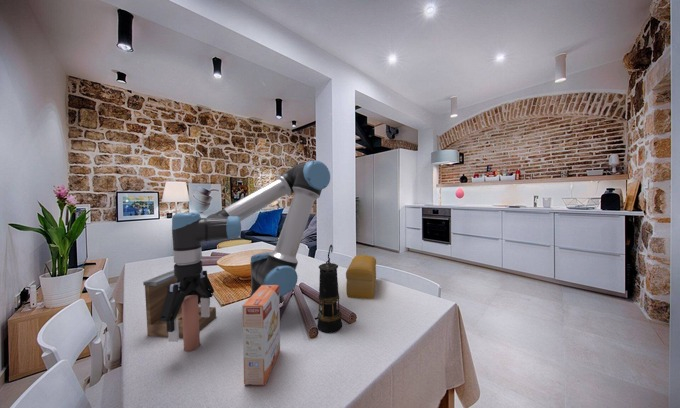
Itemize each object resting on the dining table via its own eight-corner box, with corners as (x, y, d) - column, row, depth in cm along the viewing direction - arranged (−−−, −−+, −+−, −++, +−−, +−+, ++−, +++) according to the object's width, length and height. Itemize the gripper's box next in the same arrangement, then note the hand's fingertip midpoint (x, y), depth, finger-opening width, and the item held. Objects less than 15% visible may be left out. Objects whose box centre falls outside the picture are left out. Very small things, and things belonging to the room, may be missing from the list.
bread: (373, 299, 109) (373, 267, 108) (345, 297, 111) (345, 265, 110) (376, 280, 132) (376, 253, 132) (353, 279, 135) (353, 252, 134)
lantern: (312, 330, 85) (311, 246, 84) (324, 317, 93) (322, 241, 92) (336, 335, 82) (335, 248, 80) (345, 322, 90) (344, 242, 89)
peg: (203, 343, 79) (201, 295, 78) (193, 351, 74) (191, 301, 74) (190, 342, 79) (188, 294, 78) (180, 350, 75) (177, 300, 74)
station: (216, 316, 96) (214, 269, 95) (188, 339, 81) (186, 283, 80) (180, 314, 97) (178, 268, 97) (146, 336, 83) (143, 281, 82)
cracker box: (266, 386, 60) (264, 305, 59) (243, 386, 61) (240, 305, 60) (281, 350, 74) (280, 283, 73) (262, 350, 75) (260, 284, 74)
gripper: (204, 251, 88) (206, 308, 89) (140, 275, 64) (144, 352, 65) (223, 252, 87) (225, 309, 88) (165, 275, 63) (169, 354, 64)
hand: (191, 327), depth 76 cm, fingers open, 13 cm apart
